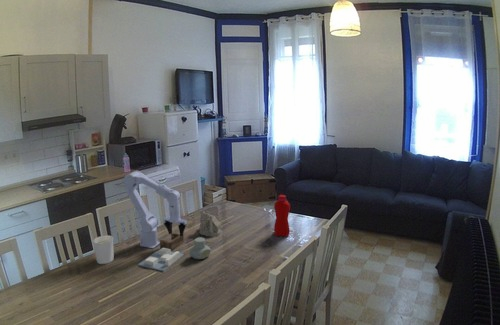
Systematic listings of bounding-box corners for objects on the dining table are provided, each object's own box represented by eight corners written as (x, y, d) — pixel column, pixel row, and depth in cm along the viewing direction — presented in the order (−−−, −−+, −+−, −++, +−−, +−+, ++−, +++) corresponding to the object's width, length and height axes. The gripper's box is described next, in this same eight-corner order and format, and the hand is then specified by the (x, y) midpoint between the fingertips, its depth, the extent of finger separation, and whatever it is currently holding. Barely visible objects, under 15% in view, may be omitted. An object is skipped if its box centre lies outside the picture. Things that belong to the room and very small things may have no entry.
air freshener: (202, 250, 189) (201, 234, 187) (213, 255, 184) (212, 238, 182) (187, 258, 181) (186, 241, 179) (198, 263, 176) (197, 245, 174)
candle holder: (119, 257, 182) (117, 236, 180) (106, 266, 173) (103, 244, 171) (104, 254, 186) (102, 234, 183) (91, 263, 176) (88, 241, 174)
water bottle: (292, 237, 205) (293, 197, 200) (274, 237, 205) (275, 198, 200) (291, 230, 214) (291, 193, 209) (273, 231, 214) (274, 193, 209)
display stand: (138, 265, 174) (137, 258, 173) (159, 250, 190) (159, 243, 189) (163, 271, 168) (163, 264, 167) (184, 255, 184) (183, 248, 183)
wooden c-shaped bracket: (160, 248, 192) (159, 240, 191) (172, 240, 202) (172, 232, 201) (171, 251, 189) (171, 242, 188) (183, 242, 200) (183, 234, 198)
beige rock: (214, 238, 205) (214, 214, 202) (194, 233, 213) (193, 210, 211) (229, 230, 218) (229, 207, 216) (209, 226, 226) (209, 204, 224)
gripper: (189, 211, 191) (190, 233, 194) (168, 208, 196) (169, 229, 199) (182, 215, 184) (183, 238, 187) (160, 212, 190) (162, 234, 193)
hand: (176, 234), depth 193 cm, fingers open, 7 cm apart
